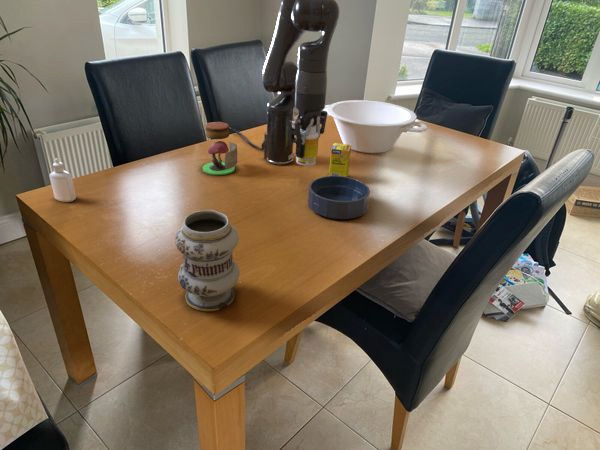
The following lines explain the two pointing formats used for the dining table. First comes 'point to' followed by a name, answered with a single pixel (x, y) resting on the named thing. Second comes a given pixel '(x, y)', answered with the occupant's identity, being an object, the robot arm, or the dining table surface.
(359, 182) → the bowl
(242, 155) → the dining table surface
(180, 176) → the dining table surface
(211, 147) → the mushroom terrarium
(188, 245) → the apothecary jar
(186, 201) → the dining table surface
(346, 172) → the supplement box
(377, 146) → the white wash basin
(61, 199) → the eye dropper bottle
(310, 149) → the supplement bottle
